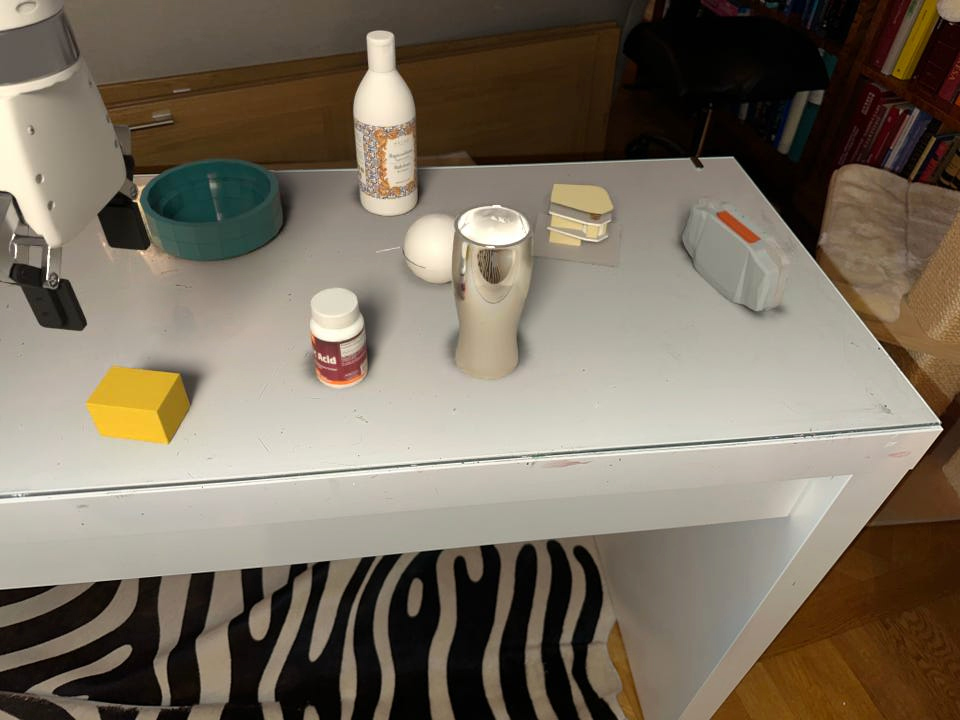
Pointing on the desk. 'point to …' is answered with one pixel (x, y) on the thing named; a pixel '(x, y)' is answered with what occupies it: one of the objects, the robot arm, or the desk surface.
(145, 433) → the sponge
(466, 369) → the beer glass
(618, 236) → the stacked layers on plate
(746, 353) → the desk surface
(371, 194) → the bath foam
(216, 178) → the bowl
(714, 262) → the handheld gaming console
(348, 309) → the pill bottle
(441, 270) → the lollipop
